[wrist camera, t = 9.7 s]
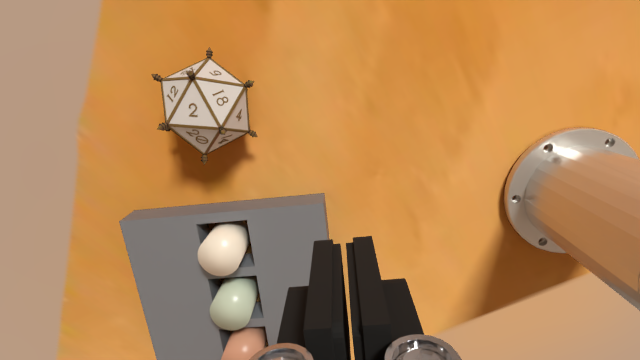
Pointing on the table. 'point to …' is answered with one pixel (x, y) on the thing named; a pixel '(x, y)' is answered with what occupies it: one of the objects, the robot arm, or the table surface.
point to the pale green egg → (234, 302)
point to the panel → (201, 287)
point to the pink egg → (245, 343)
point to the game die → (205, 105)
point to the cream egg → (224, 248)
